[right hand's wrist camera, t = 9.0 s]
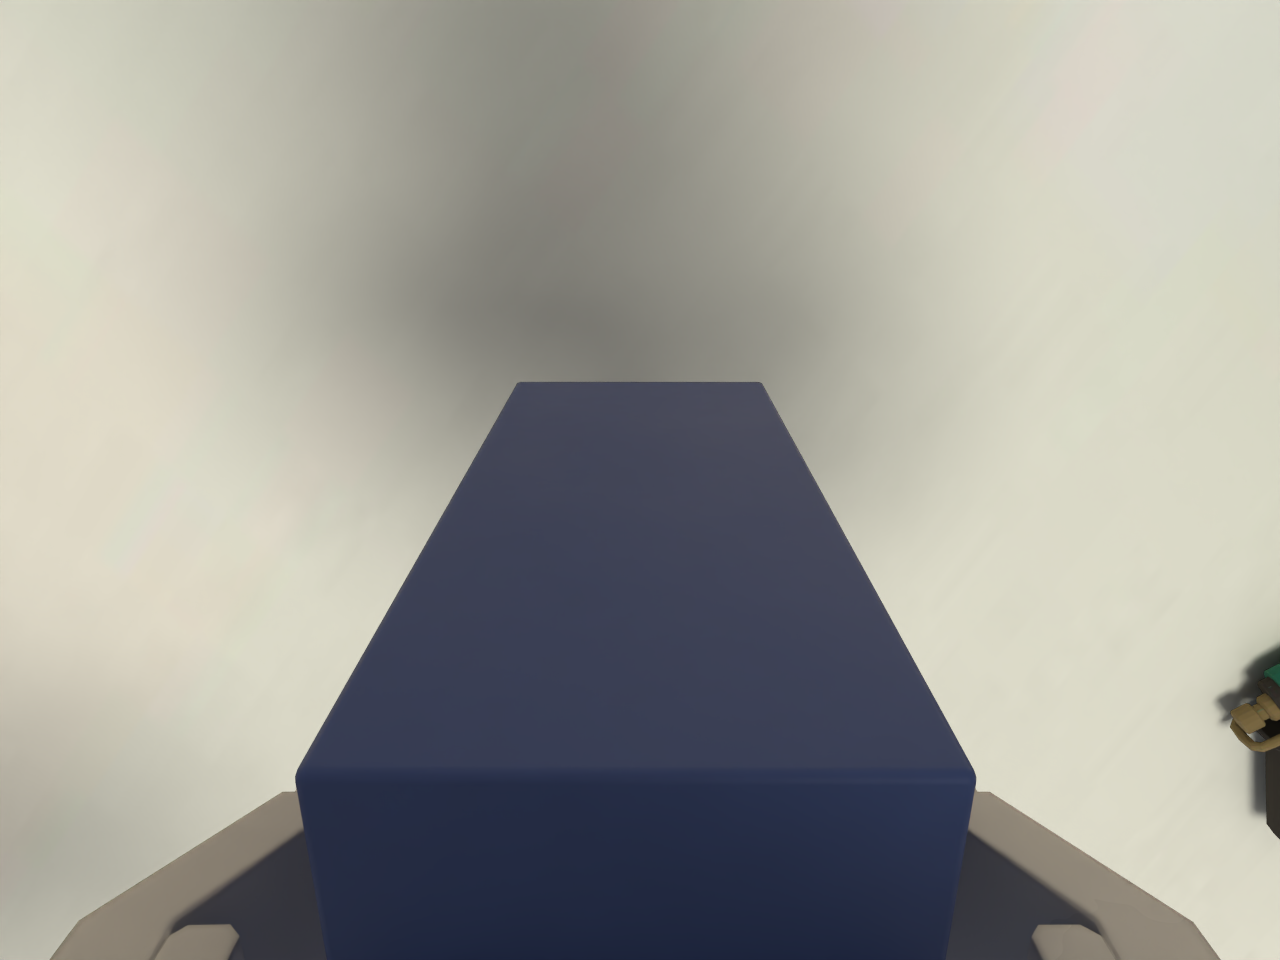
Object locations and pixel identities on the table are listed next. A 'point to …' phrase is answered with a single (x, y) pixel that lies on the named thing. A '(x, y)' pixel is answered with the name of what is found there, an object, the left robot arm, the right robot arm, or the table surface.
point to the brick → (636, 711)
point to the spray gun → (1276, 722)
